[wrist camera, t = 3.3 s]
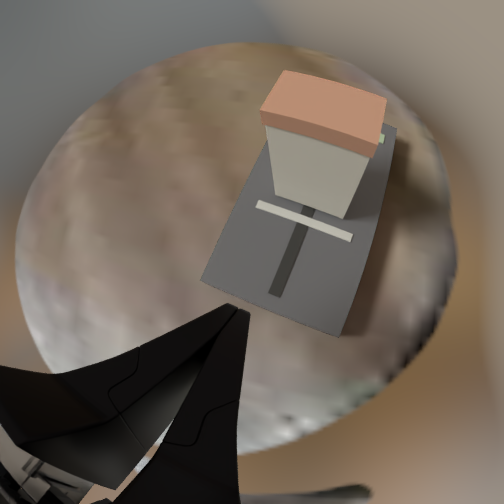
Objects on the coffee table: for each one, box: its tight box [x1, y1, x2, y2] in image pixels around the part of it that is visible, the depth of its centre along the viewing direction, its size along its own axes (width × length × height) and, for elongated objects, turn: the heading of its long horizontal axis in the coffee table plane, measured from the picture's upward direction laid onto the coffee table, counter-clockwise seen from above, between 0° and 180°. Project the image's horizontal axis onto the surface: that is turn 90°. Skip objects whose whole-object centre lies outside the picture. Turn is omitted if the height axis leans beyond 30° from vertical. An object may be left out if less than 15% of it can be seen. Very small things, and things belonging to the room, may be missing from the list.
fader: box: [260, 70, 387, 219], centre depth 15 cm, size 3×5×9 cm, turn 66°
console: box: [200, 123, 397, 338], centre depth 20 cm, size 18×10×2 cm, turn 156°
